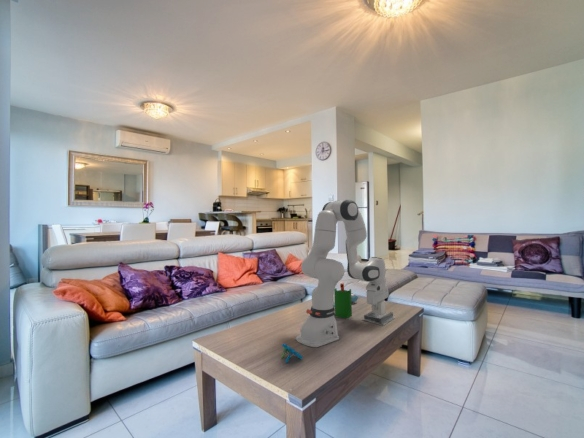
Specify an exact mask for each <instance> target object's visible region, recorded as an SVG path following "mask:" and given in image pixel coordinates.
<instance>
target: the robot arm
mask: <svg viewBox="0 0 584 438" xmlns="http://www.w3.org/2000/svg"><path fill="white" fill-rule="evenodd" d="M338 222H343V224H344V229H345V230H344V231H345V234H346V239H345V252H346V259H347V268H346V270H347V271H346V272H347V275H348V276H349V277H350V278H351V279H353V280H359V281H362V282H366V283H367V282H368V283H367V284H366V286H365V290H366V302H367V304H369V305H371V306H372V305H373V306H374V310H378V307H377V303H378V302H380V301H382V300H383V301H385V299H387V298H389V296H390V295H389V287H388V285H387V278H386V263H385V259H383V258H382V257H377V256H370V259H369V260H368V261H367V262H365V263H362V262H360V261H359V257H358V250H357V248H358V246H359V245H361V244H362V243H364V241H366V239H367V234H368V233H367V228H366V224H365V220H364V218H363V215H362V213H361V211H360V210H359V206H358V204H357V203H356V202H355V201H354V200H351V199H343V200H342V199H341V200H339V199H338V200H334V201H329V202H327V203H325V204H324V205H323V207H322V210H321V211H320V212H318V214H317V217H316V222H315V226H314V236H313V243H312V247H311V250H310V251H309V254H308V255H307V256H306V257H305V258H304V259H303V260H302V262H301V265H300V270H301V272H302V275H305V276H307V277H308V278H311V279H316V280H318V283H317V286H316V287H315V288H313V289H312V290H311V307H310V309H309V308H308V309H306V310H305V311H306V314H309V315H308V317H307V318H306V319H305V320H304V323H303V324H302V325H301V328H300V333H299V334H298V335H297V336H296V337H295V340H296V341H297V342H298V343H300V344H301V345H304V346H307V347H312V348H319V347H323V346H325V345H328V344H330V343H333V342H335V341H338V340H340V336H339V334H338V326H337V320H336V318H335V317H336V316H335V306H334V303H335V296H334V289H335V288H336V286H337V284H338V283H339V282H341V280H342V278H344V275H345V267H344V265H343V263H342V262H340V261H338V260H335V259H332V258H327V256H328V254H329V252H331V251H332V250H333V249H335V247H336V237H337V223H338Z"/></svg>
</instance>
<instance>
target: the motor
mask: <svg viewBox="0 0 584 438" xmlns="http://www.w3.org/2000/svg"><path fill="white" fill-rule="evenodd" d="M339 285H340V286H339V287H340V289H339V290H337V289H338V288H336V287H335V289H334V303H335V306H334V308H335V314H334V317H337V318H342V319H344V318H345V319H347V318H348V319H349V318H351V317H352V316H353V314H352V313H353V310H352V309H353V307H352V306H353V305H352V303H353V302H351V293H352V289H351V288H349V290H347V289H345V284H344V283H343V282H342V283H341V282H340V284H339ZM346 290H347V291H346Z"/></svg>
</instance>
